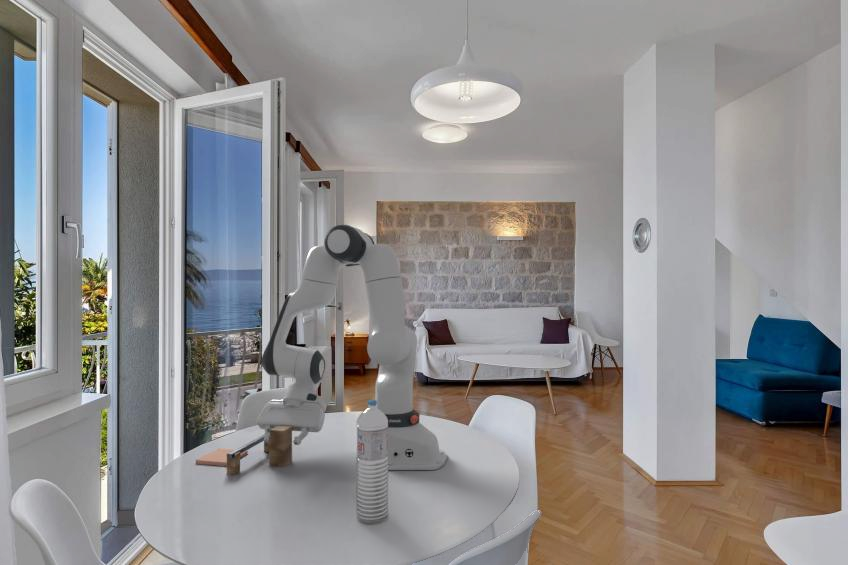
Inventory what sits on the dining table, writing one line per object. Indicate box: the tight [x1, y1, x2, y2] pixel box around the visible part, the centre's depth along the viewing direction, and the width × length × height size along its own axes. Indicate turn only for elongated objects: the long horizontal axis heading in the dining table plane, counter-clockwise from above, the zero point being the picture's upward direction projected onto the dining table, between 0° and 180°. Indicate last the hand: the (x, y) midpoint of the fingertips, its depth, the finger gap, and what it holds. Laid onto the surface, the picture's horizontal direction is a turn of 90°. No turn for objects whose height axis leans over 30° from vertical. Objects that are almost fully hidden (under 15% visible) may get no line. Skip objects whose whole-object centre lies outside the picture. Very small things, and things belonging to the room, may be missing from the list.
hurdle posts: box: [226, 432, 270, 476], centre depth 130 cm, size 3×20×5 cm, turn 168°
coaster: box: [195, 448, 248, 467], centre depth 132 cm, size 10×10×1 cm
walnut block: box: [268, 426, 293, 468], centre depth 128 cm, size 4×4×10 cm
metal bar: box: [228, 433, 265, 459], centre depth 130 cm, size 1×21×1 cm, turn 168°
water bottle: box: [356, 399, 389, 525], centre depth 97 cm, size 7×7×25 cm
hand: (281, 442), depth 129 cm, fingers open, 8 cm apart
